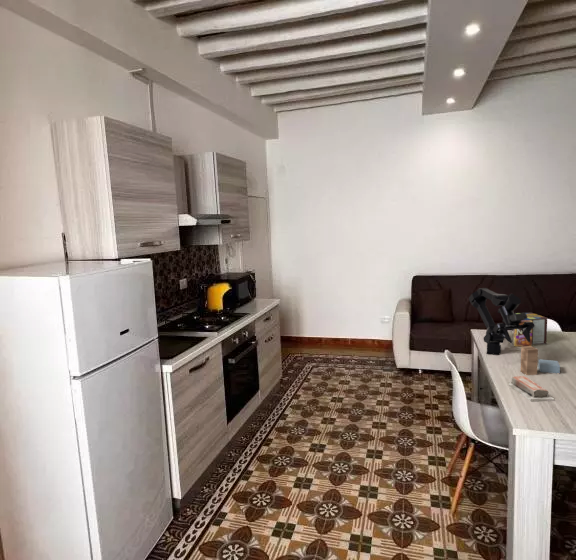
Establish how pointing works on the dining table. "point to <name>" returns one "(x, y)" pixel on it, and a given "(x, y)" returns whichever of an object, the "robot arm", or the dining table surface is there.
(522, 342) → the candy box
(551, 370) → the slate base block
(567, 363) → the dining table surface
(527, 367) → the walnut block
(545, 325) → the protein box
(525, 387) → the packaged product
